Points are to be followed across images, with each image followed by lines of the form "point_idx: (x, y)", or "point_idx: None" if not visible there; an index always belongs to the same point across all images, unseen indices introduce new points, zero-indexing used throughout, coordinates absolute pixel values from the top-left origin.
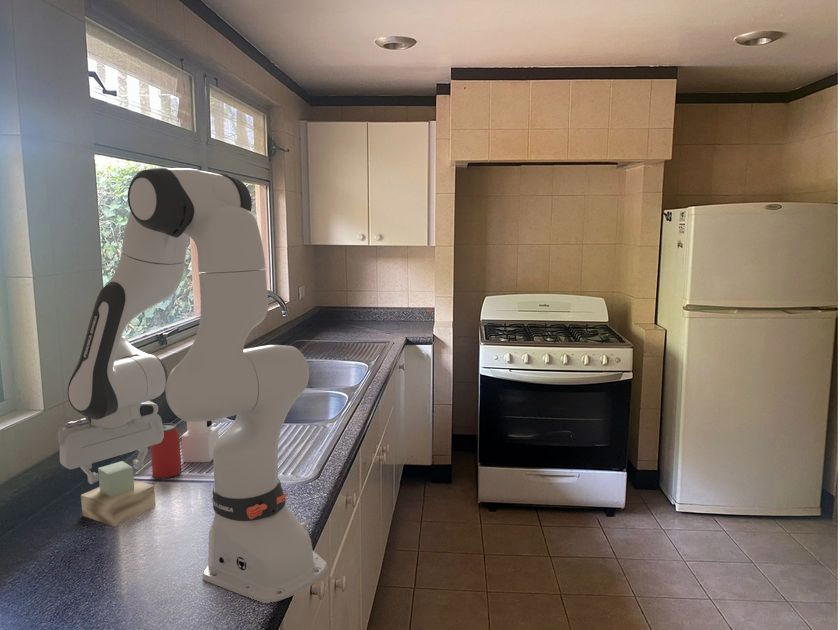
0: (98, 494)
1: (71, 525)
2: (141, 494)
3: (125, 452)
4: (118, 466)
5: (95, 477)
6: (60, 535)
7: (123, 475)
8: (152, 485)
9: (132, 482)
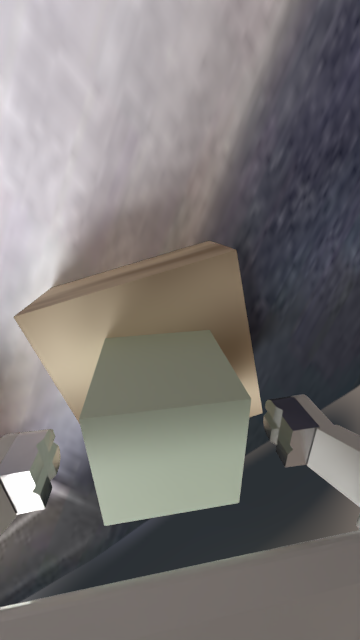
0: None
1: (277, 336)
2: (90, 290)
3: (98, 603)
4: (151, 473)
5: (300, 415)
6: (319, 302)
7: (151, 384)
8: (20, 322)
9: (106, 356)
